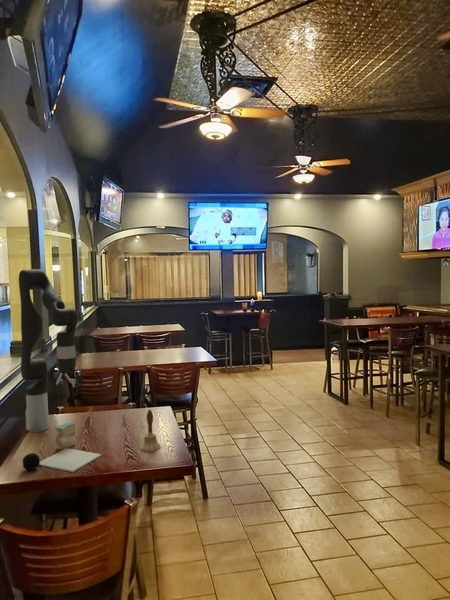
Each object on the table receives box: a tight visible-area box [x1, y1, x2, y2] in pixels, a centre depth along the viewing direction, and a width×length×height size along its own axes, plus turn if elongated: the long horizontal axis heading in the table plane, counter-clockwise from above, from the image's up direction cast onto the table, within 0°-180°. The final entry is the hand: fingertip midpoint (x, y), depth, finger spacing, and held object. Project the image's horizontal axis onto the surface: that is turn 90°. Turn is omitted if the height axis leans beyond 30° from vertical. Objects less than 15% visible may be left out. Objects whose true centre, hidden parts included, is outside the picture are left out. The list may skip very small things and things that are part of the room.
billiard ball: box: [22, 452, 41, 471], centre depth 172 cm, size 6×6×6 cm
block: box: [54, 421, 77, 451], centre depth 195 cm, size 4×7×9 cm, turn 156°
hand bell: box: [139, 409, 161, 453], centre depth 190 cm, size 8×8×16 cm
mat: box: [38, 447, 102, 473], centre depth 180 cm, size 18×16×1 cm
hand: (67, 394), depth 194 cm, fingers open, 8 cm apart
